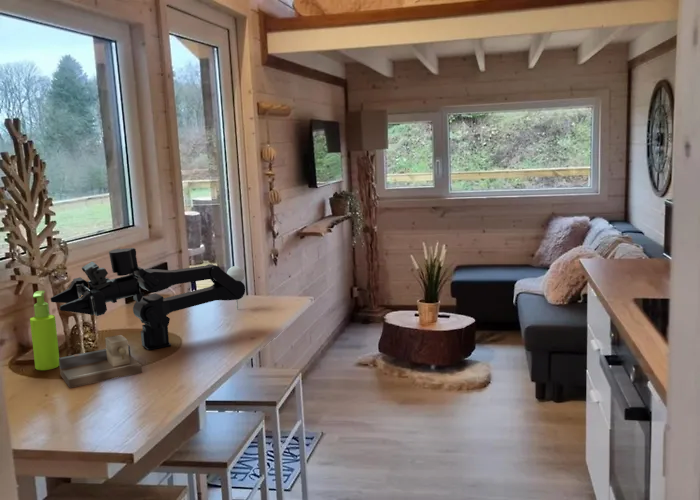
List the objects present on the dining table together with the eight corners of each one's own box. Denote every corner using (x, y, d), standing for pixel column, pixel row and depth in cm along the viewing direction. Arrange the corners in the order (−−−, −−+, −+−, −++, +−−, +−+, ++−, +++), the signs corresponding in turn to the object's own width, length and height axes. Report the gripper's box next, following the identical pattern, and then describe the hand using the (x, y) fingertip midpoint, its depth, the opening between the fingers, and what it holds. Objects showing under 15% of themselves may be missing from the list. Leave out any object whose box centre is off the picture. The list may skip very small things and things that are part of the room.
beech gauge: (123, 357, 172) (121, 334, 171) (133, 366, 165) (131, 342, 164) (107, 360, 170) (105, 337, 169) (116, 369, 163) (114, 346, 162)
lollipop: (226, 308, 228) (224, 265, 225) (243, 306, 230) (241, 263, 228) (231, 312, 222) (228, 268, 220) (248, 310, 224) (246, 266, 222)
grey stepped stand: (129, 361, 175) (128, 344, 175) (142, 372, 166) (140, 354, 165) (60, 375, 166) (58, 357, 165) (69, 388, 157) (67, 369, 156)
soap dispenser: (32, 372, 169) (23, 295, 165) (37, 364, 175) (29, 289, 172) (57, 369, 170) (49, 293, 167) (61, 361, 177) (53, 287, 173)
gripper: (100, 254, 185) (40, 267, 176) (122, 267, 170) (58, 281, 161) (107, 292, 188) (48, 306, 179) (129, 308, 173) (67, 324, 164)
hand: (55, 304), depth 171 cm, fingers open, 9 cm apart
